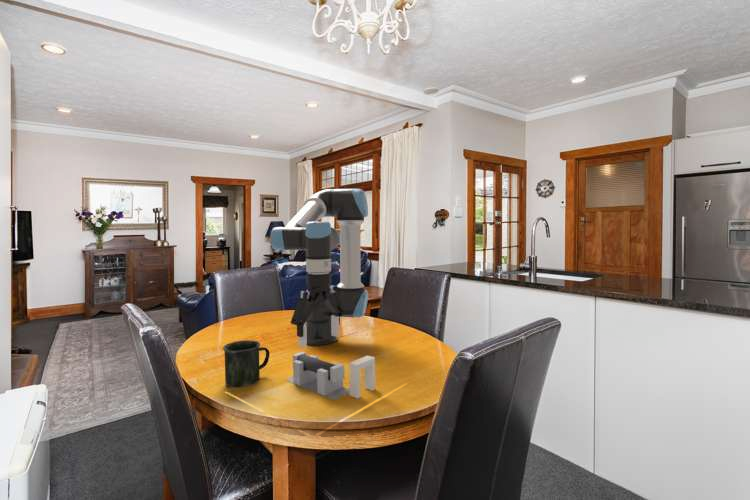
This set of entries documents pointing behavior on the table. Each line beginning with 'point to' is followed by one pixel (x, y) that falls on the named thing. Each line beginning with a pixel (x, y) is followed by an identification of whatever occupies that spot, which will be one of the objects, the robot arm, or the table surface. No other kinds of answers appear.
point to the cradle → (317, 381)
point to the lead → (321, 366)
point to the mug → (243, 363)
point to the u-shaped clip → (355, 375)
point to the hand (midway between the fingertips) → (319, 341)
